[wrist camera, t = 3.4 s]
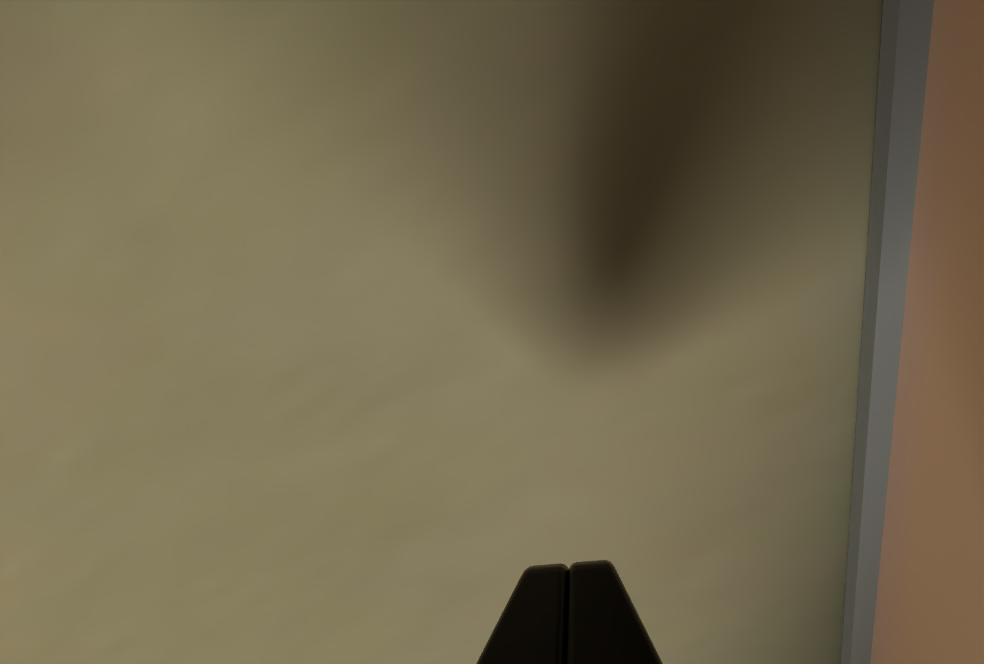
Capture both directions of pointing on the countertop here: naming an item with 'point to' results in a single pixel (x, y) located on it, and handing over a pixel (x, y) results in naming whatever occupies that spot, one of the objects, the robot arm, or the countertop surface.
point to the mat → (884, 302)
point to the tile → (940, 375)
